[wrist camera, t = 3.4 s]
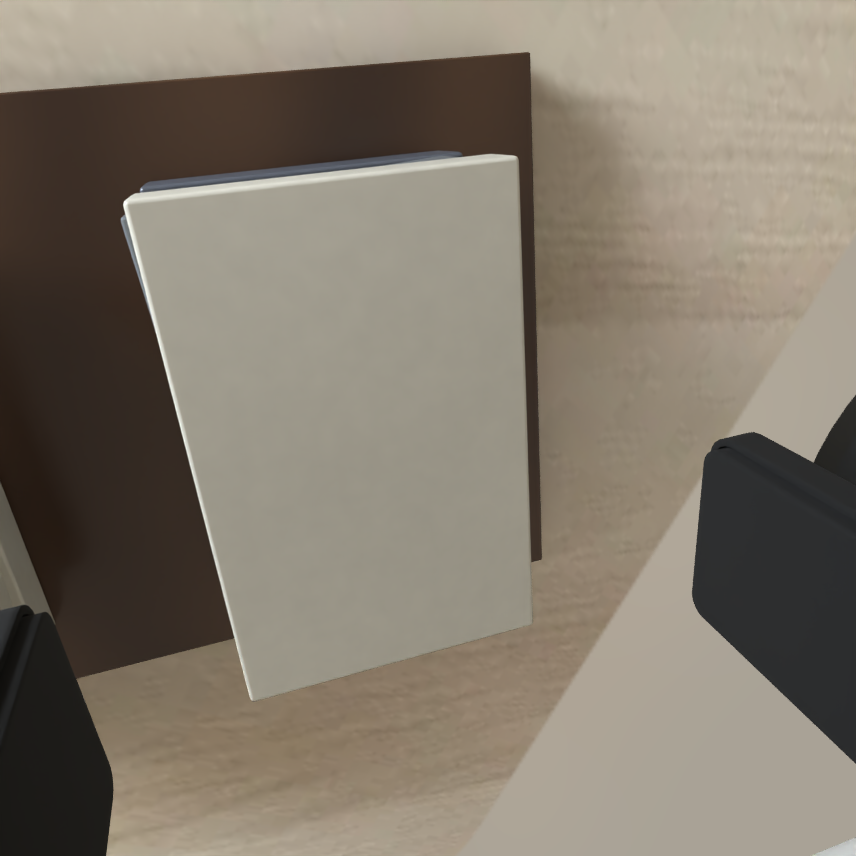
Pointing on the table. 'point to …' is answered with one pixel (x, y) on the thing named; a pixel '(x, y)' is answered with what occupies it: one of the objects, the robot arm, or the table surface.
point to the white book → (350, 405)
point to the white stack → (17, 566)
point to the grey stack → (276, 174)
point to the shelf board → (133, 328)
